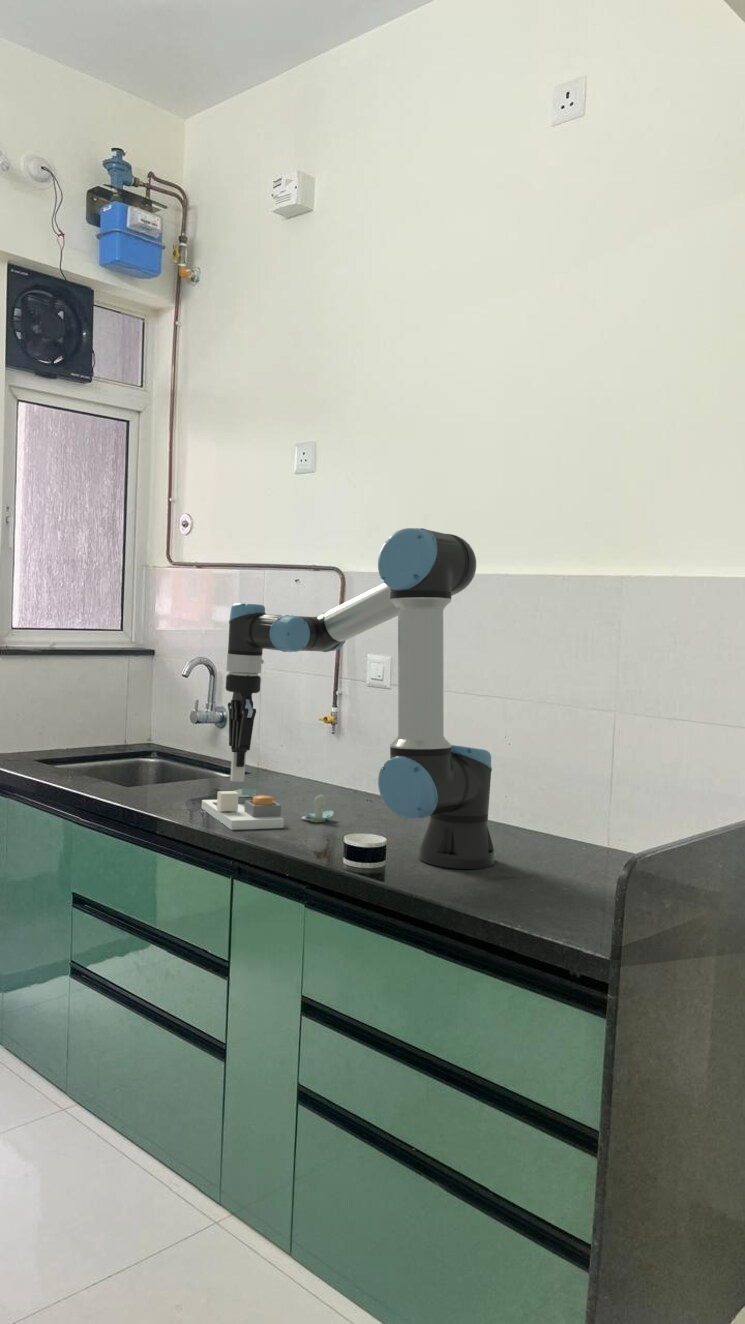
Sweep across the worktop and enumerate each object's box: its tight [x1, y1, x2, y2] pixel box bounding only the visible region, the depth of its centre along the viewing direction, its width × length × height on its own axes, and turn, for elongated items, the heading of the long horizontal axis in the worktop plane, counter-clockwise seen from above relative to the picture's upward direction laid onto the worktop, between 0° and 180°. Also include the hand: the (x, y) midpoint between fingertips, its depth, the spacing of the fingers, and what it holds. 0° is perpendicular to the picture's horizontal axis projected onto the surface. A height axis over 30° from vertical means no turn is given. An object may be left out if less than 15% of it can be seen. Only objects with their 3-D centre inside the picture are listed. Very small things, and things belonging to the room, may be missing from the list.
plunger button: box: [252, 794, 274, 805], centre depth 228 cm, size 4×4×3 cm
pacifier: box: [301, 794, 335, 823], centre depth 234 cm, size 7×6×6 cm
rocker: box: [234, 787, 258, 797], centre depth 239 cm, size 6×4×1 cm, turn 25°
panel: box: [201, 796, 285, 831], centre depth 232 cm, size 24×12×4 cm, turn 25°
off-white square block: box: [216, 790, 239, 812], centre depth 228 cm, size 3×4×4 cm
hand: (237, 780), depth 222 cm, fingers closed
